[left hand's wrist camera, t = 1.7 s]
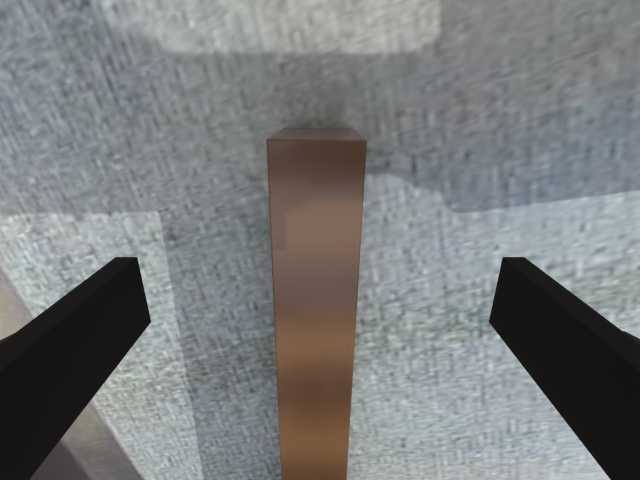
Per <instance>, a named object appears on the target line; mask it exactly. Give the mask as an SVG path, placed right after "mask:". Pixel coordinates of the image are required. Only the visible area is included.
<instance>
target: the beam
mask: <svg viewBox="0 0 640 480" xmlns="http://www.w3.org/2000/svg"><path fill="white" fill-rule="evenodd" d="M366 143H367V142H366V140H365V139H363V138H362V137H361V136H360V135H359V134H357V133H356V132H355V131H354V130H352V129H312V128H283V129H282V130H281V131H279V132H278V133H276V134H275V135H273V136H272V137H270V138H269V139H267V160H268V183H269V205H270V228H271V251H272V274H273V296H274V319H275V342H276V365H277V388H278V410H279V433H280V456H281V479H282V480H346V478H347V462H348V445H349V428H350V411H351V395H352V378H353V361H354V344H355V328H356V311H357V294H358V277H359V261H360V244H361V227H362V210H363V194H364V177H365V160H366Z"/></svg>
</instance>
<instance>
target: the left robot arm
mask: <svg viewBox="0 0 640 480" xmlns="http://www.w3.org/2000/svg"><path fill="white" fill-rule="evenodd" d="M150 323H151V319H150V315H149V310H148V305H147V301H146V296H145V292H144V287H143V282H142V278H141V273H140V268H139V264H138V259H137V257H116V258H114V259H113V260H112V261H110V262H109V263H108V264H106V265H105V266H104V267H102V268H101V269H100V270H98V271H97V272H96V273H94V274H93V275H92V276H90V277H89V278H88V279H86V280H85V281H84V282H82V283H81V284H80V285H78V286H77V287H76V288H74V289H73V290H72V291H70V292H69V293H68V294H66V295H65V296H64V297H62V298H61V299H60V300H58V301H57V302H56V303H55V304H53V305H52V306H51V307H49V308H48V309H47V310H45V311H44V312H43V313H41V314H40V315H39V316H37V317H36V318H35V319H33V320H32V321H31V322H29V323H28V324H27V325H25V326H24V327H23V328H21V329H20V330H19V331H17V332H16V333H14V334H12V335H10V336H8V337H6V338H4V339H2V340H0V480H29V479H30V478H31V477H32V475H33V474H34V473H35V471H36V470H37V469H38V468H39V466H40V465H41V464H42V462H43V461H44V460H45V459H46V457H47V456H48V455H49V453H50V452H51V451H52V449H53V448H54V447H55V446H56V444H57V443H58V442H59V440H60V439H61V438H62V437H63V435H64V434H65V433H66V431H67V430H68V429H69V427H70V426H71V425H72V424H73V422H74V421H75V420H76V418H77V417H78V416H79V415H80V413H81V412H82V411H83V409H84V408H85V407H86V405H87V404H88V403H89V402H90V400H91V399H92V398H93V396H94V395H95V394H96V393H97V391H98V390H99V389H100V387H101V386H102V385H103V383H104V382H105V381H106V380H107V378H108V377H109V376H110V374H111V373H112V372H113V371H114V369H115V368H116V367H117V365H118V364H119V363H120V361H121V360H122V359H123V358H124V356H125V355H126V354H127V352H128V351H129V350H130V349H131V347H132V346H133V345H134V343H135V342H136V341H137V339H138V338H139V337H140V336H141V334H142V333H143V332H144V330H145V329H146V328H147V327H148V325H149V324H150ZM489 323H490V324H491V325H492V327H493V328H494V329H495V330H496V332H497V333H498V334H499V336H500V337H501V338H502V339H503V341H504V342H505V343H506V345H507V346H508V347H509V349H510V350H511V351H512V352H513V354H514V355H515V356H516V358H517V359H518V360H519V361H520V363H521V364H522V365H523V367H524V368H525V369H526V371H527V372H528V373H529V374H530V376H531V377H532V378H533V380H534V381H535V382H536V383H537V385H538V386H539V387H540V389H541V390H542V391H543V393H544V394H545V395H546V396H547V398H548V399H549V400H550V402H551V403H552V404H553V405H554V407H555V408H556V409H557V411H558V412H559V413H560V415H561V416H562V417H563V418H564V420H565V421H566V422H567V424H568V425H569V426H570V427H571V429H572V430H573V431H574V433H575V434H576V435H577V437H578V438H579V439H580V440H581V442H582V443H583V444H584V446H585V447H586V448H587V449H588V451H589V452H590V453H591V455H592V456H593V457H594V459H595V460H596V461H597V462H598V464H599V465H600V466H601V468H602V469H603V470H604V471H605V473H606V474H607V475H608V477H609V478H610V479H611V480H640V339H639V338H637V337H635V336H633V335H631V334H629V333H627V332H625V331H621V330H620V329H619V328H617V327H616V326H615V325H613V324H612V323H611V322H609V321H608V320H607V319H605V318H604V317H603V316H601V315H600V314H599V313H597V312H596V311H595V310H593V309H592V308H591V307H589V306H588V305H587V304H585V303H584V302H583V301H582V300H580V299H579V298H578V297H576V296H575V295H574V294H572V293H571V292H570V291H568V290H567V289H566V288H564V287H563V286H562V285H560V284H559V283H558V282H556V281H555V280H554V279H552V278H551V277H550V276H548V275H547V274H546V273H544V272H543V271H542V270H540V269H539V268H538V267H536V266H535V265H534V264H532V263H531V262H530V261H528V260H527V259H526V258H524V257H503V259H502V264H501V268H500V273H499V278H498V282H497V287H496V291H495V296H494V301H493V305H492V310H491V315H490V319H489Z"/></svg>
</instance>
